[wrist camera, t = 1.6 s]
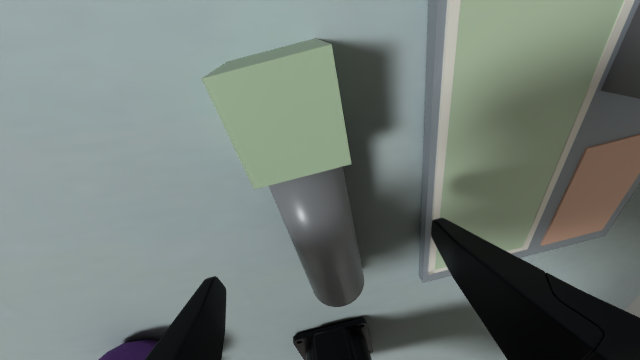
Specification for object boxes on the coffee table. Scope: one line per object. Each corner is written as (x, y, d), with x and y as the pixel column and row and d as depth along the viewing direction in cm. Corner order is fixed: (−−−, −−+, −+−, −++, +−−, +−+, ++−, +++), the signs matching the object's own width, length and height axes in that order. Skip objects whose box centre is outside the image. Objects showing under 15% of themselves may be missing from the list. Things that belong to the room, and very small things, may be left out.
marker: (359, 263, 16) (375, 312, 14) (312, 275, 16) (318, 327, 14) (315, 38, 9) (331, 44, 6) (227, 61, 9) (201, 78, 6)
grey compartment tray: (595, 230, 18) (645, 262, 16) (418, 275, 18) (440, 315, 16) (888, -230, 7) (1221, -371, 5) (432, -108, 7) (513, -180, 5)
